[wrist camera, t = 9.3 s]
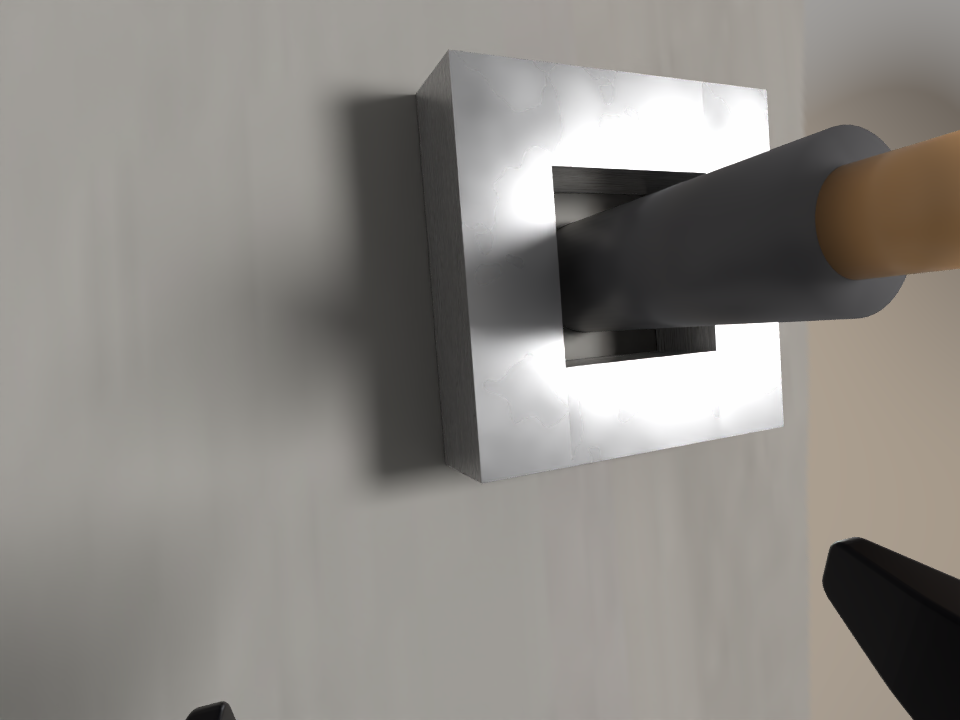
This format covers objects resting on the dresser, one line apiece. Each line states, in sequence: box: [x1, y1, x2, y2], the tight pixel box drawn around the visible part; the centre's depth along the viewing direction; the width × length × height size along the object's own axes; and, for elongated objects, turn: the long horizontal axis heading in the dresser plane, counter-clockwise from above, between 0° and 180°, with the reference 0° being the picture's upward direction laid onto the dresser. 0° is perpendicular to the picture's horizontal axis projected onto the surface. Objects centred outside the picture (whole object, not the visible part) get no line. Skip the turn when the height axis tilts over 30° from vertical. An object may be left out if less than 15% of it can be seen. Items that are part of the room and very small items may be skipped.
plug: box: [556, 125, 960, 332], centre depth 16 cm, size 4×4×12 cm
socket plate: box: [416, 50, 784, 483], centre depth 20 cm, size 12×12×3 cm
